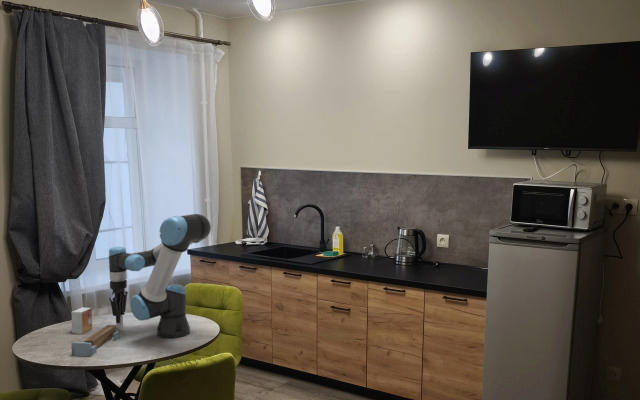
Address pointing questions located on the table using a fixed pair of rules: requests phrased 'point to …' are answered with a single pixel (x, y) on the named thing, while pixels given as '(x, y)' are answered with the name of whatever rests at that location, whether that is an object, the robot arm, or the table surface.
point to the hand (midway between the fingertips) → (119, 328)
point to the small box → (81, 320)
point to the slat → (102, 336)
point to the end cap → (83, 349)
